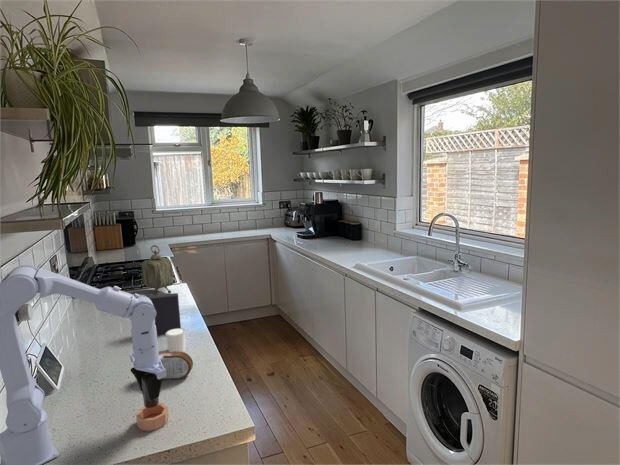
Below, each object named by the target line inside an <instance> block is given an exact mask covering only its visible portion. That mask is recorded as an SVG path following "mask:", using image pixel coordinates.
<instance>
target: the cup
mask: <svg viewBox="0 0 620 465" xmlns="http://www.w3.org/2000/svg"><path fill="white" fill-rule="evenodd" d="M136 413H137V414H136V415H135V417H136V419H135V420H136V425H137V427H138V428H139V430H141V431H143V432H153V431H156V430H159V429H161V428H162V427H164V426H165V425H167V422H168V421H169V416H170V415H169V414H170V413H169V407H168V406H167V405H165V404H164V403H163V402H161V403H160V402H159V404H158V405H157V406H155V407H152V408H146V407H145V406H143V407H142V408H139V410H138V412H136Z"/></svg>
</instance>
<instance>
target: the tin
mask: <svg viewBox="0 0 620 465" xmlns="http://www.w3.org/2000/svg"><path fill="white" fill-rule="evenodd" d="M158 352H159V355H161V356H163V358H164V359H163V360H161V363H162V365H163V367H164V368H165V369H166V377H164V378H163V380H182V379H185V378H186V377H188V375H189V374H190V373H191V372H192V369H193V366H194V362H193V359H192V356H190V355H189V354H188V353H187V352H185V351H183V352H180V351H176V352H169V351H158Z"/></svg>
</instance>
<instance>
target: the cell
mask: <svg viewBox="0 0 620 465" xmlns="http://www.w3.org/2000/svg"><path fill="white" fill-rule="evenodd" d="M146 374H148V373H146ZM141 381H142V390H143V394H142V397H143V407H146V408H152V407H155V406H157V405H158V404H159V403H160V402H159V400H160V399H159V397H158V398H156V399H153V400H150V398H149V395H148V391H147V387H146V385H145V383H144V381H143V380H142V378H141Z"/></svg>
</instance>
